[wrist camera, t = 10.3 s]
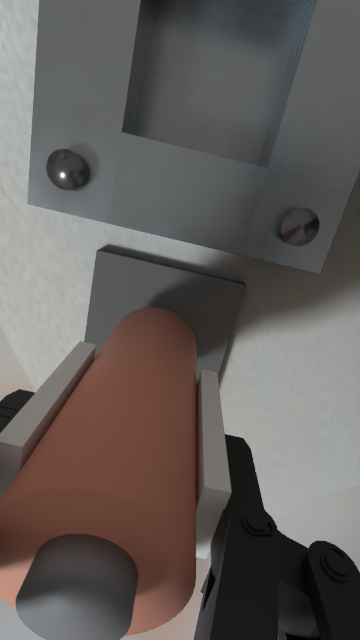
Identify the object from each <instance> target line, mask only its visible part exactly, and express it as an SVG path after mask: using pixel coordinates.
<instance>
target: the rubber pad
mask: <svg viewBox="0 0 360 640" xmlns="http://www.w3.org/2000/svg"><path fill="white" fill-rule="evenodd" d="M245 287H246V285H245V283H241V282H237V281H233V280H228V279H224V278H220V277H216V276H212V275H207V274H203V273H199V272H195V271H191V270H186V269H182V268H178V267H174V266H169V265H165V264H161V263H157V262H153V261H148V260H144V259H140V258H136V257H132V256H127V255H123V254H119V253H115V252H111V251H106V250H102V249H99V250H97V253H96V260H95V268H94V275H93V282H92V290H91V297H90V304H89V312H88V319H87V326H86V334H85V341H84V342H85V343H90V344H94V345H96V351H95V358H96V356H97V355H98V353H99V352H100V350H101V349H102V347H103V346H104V344H105V343H106V341H107V340H108V338H109V337H110V335H111V334H112V332H113V331H114V329H115V328H116V326H117V325H118V323H119V322H120V321H121V320H122V319H123V318H124V317H125V316H126V315H128V314H129V313H131V312H133V311H135V310H138V309H142V308H148V307H157V308H163V309H166V310H169V311H171V312H174V313H175V314H177V315H179V316H180V317H181V318H183V319H184V320H185V321H186V322H187V323H188V325H189V326H190V327H191V329H192V331H193V333H194V336H195V339H196V343H197V382H198V378H199V375H200V371H201V369H203V370H208V371H212V372H216V373H217V377H218V374H219V371H220V368H221V365H222V361H223V358H224V355H225V352H226V348H227V345H228V342H229V339H230V335H231V332H232V329H233V326H234V322H235V319H236V316H237V313H238V309H239V306H240V303H241V300H242V296H243V293H244V290H245ZM95 358H94V359H95Z"/></svg>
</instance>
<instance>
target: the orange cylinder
mask: <svg viewBox="0 0 360 640" xmlns="http://www.w3.org/2000/svg"><path fill="white" fill-rule="evenodd" d="M196 443H197V343H196V339H195V336H194V333H193V331H192V329H191V327H190V326H189V325H188V323H187V322H186V321H185V320H184V319H183V318H181V317H180V316H179V315H177V314H175V313H174V312H171V311H169V310H166V309H163V308H157V307H148V308H142V309H138V310H135V311H133V312H131V313H129V314H128V315H126V316H125V317H124V318H123V319H122V320H121V321H120V322H119V323H118V325H117V326H116V328H115V329H114V331H113V332H112V334H111V335H110V337H109V338H108V340H107V341H106V343H105V344H104V346H103V347H102V349H101V350H100V352H99V353H98V355H97V356H96V358H95V359H94V361H93V362H92V364H91V365H90V367H89V368H88V370H87V371H86V373H85V374H84V376H83V377H82V379H81V380H80V382H79V383H78V385H77V386H76V388H75V389H74V391H73V392H72V394H71V395H70V397H69V398H68V400H67V401H66V403H65V404H64V406H63V407H62V409H61V410H60V412H59V413H58V415H57V416H56V418H55V419H54V421H53V422H52V424H51V425H50V427H49V428H48V430H47V431H46V433H45V434H44V436H43V437H42V439H41V440H40V442H39V443H38V445H37V446H36V448H35V449H34V451H33V452H32V454H31V455H30V457H29V458H28V460H27V461H26V463H25V464H24V466H23V467H22V469H21V470H20V472H19V473H18V475H17V476H16V478H15V479H14V481H13V482H12V484H11V485H10V487H9V488H8V490H7V491H6V493H5V494H4V496H3V497H2V499H1V500H0V596H1V597H2V598H3V599H4V600H5V601H6V602H7V603H8V604H10V605H11V606H12V607H14V608H15V609H16V610H17V613H18V615H19V617H20V619H21V620H22V621H23V623H24V624H25V625H26V626H27V627H28V628H29V629H30V630H32V631H33V632H34V633H36V634H38V635H39V636H41V637H43V638H45V639H47V640H119V639H121V638H122V637H123V636H127V635H133V634H138V633H142V632H146V631H148V630H151V629H154V628H156V627H158V626H161V625H163V624H164V623H166V622H168V621H169V620H171V619H172V618H173V617H175V616H176V615H177V614H178V613H179V612H181V611H182V610H183V608H184V607H185V606H186V604H187V603H188V602H189V600H190V598H191V596H192V594H193V590H194V587H195V581H196Z"/></svg>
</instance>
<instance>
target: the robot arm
mask: <svg viewBox="0 0 360 640" xmlns="http://www.w3.org/2000/svg"><path fill="white" fill-rule="evenodd" d="M95 351H96V345H94V344H90V343H85V342H81V341H80V342H79V343H78V344H77V346H76V347H75V348H74V349H73V350H72V351H71V353H70V354H69V355H68V356H67V357H66V358H65V359H64V361H63V362H62V363H61V364H60V365H59V366H58V367H57V369H56V370H55V371H54V372H53V373H52V374H51V376H50V377H49V378H48V379H47V380H46V381H45V382H44V384H43V385H42V386H41V387H40V388H39V389H38V391H37V392H36V393H34V392H29V391H24V390H20V389H19V390H17V391H15V392H13V393H11V394H9V395H7V396H5V398H3V399H2V400H1V401H0V500H1V499H2V497H3V496H4V494H5V493H6V491H7V490H8V488H9V487H10V485H11V484H12V482H13V481H14V479H15V478H16V476H17V475H18V473H19V472H20V470H21V469H22V467H23V466H24V464H25V463H26V461H27V460H28V458H29V457H30V455H31V454H32V452H33V451H34V449H35V448H36V446H37V445H38V443H39V442H40V440H41V439H42V437H43V436H44V434H45V433H46V431H47V430H48V428H49V427H50V425H51V424H52V422H53V421H54V419H55V418H56V416H57V415H58V413H59V412H60V410H61V409H62V407H63V406H64V404H65V403H66V401H67V400H68V398H69V397H70V395H71V394H72V392H73V391H74V389H75V388H76V386H77V385H78V383H79V382H80V380H81V379H82V377H83V376H84V374H85V373H86V371H87V370H88V368H89V367H90V365H91V364H92V362H93V361H94V358H95ZM210 548H211V567H210V569H209V572H208V574H207V577H206V579H205V582H204V585H203V587H202V590H201V592H202V593H203V598H202V602H201V608H200V612H199V617H198V621H197V626H196V631H195V636H194V640H278V639H279V640H360V573H359V571H358V569H357V567H356V565H355V564H354V562H353V561H352V560H351V559H350V557H349V556H348V555H347V554H346V553H345V552H344V551H342V550H341V549H340V548H338V547H337V546H336V545H334V544H331V543H329V542H326V541H316V542H314V543H312V544H311V545H310V547H309V548H307V547H305V546H303V545H301V544H299V543H297V542H296V541H294V540H292V539H290V538H288V537H286V536H285V535H284V534H282V533H281V532H280V531H278V530H277V526H276V524H275V522H274V520H273V519H272V517H271V516H270V515H269V514H268V513H267V512H266V511H265V510H264V507H263V502H262V498H261V493H260V489H259V484H258V480H257V475H256V472H255V466H254V463H253V457H252V453H251V449H250V447H249V446H248V444H247V443H246V442H245V440H244V439H243V438H240V437H235V436H231V435H226V434H224V426H223V418H222V410H221V401H220V393H219V385H218V377H217V373H216V372H212V371H208V370H203V369H201V371H200V375H199V378H198V382H197V443H196V557H198V558H203V559H206V558H207V556H208V553H209V550H210Z"/></svg>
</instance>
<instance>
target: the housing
mask: <svg viewBox="0 0 360 640" xmlns="http://www.w3.org/2000/svg"><path fill="white" fill-rule="evenodd" d="M359 172H360V0H39V16H38V33H37V50H36V67H35V84H34V101H33V118H32V135H31V152H30V169H29V187H28V204H30V205H34V206H38V207H42V208H46V209H51V210H55V211H59V212H63V213H67V214H71V215H76V216H80V217H84V218H88V219H92V220H96V221H100V222H105V223H109V224H113V225H117V226H121V227H125V228H130V229H134V230H138V231H142V232H146V233H150V234H155V235H159V236H163V237H167V238H171V239H175V240H180V241H184V242H188V243H192V244H196V245H200V246H205V247H209V248H213V249H217V250H221V251H225V252H229V253H234V254H238V255H242V256H246V257H250V258H254V259H259V260H263V261H267V262H271V263H275V264H279V265H284V266H288V267H292V268H296V269H300V270H304V271H309V272H313V273H317V274H320V273H321V270H322V267H323V265H324V262H325V260H326V257H327V254H328V252H329V249H330V247H331V244H332V242H333V239H334V236H335V234H336V231H337V229H338V226H339V223H340V221H341V218H342V216H343V213H344V210H345V208H346V205H347V203H348V200H349V198H350V195H351V192H352V190H353V187H354V185H355V182H356V179H357V177H358V174H359Z"/></svg>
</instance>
